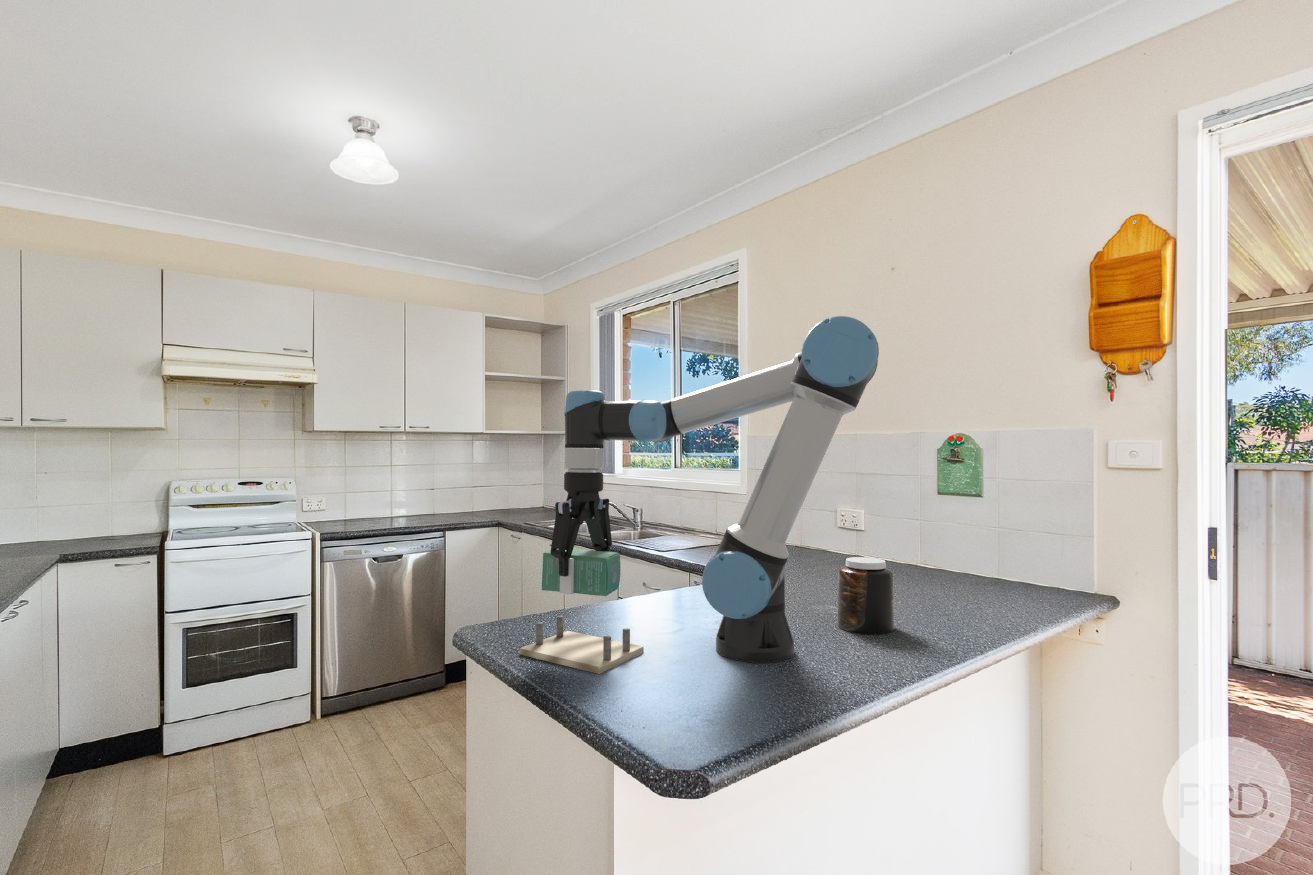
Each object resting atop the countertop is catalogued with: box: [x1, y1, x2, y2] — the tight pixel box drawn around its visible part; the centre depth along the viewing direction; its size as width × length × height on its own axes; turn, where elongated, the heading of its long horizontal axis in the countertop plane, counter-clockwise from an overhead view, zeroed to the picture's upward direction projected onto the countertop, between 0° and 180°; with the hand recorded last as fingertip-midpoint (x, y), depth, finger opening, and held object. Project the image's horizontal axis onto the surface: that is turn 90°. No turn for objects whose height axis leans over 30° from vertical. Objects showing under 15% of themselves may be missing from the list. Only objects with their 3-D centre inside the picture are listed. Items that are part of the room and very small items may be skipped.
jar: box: [837, 556, 895, 635], centre depth 141 cm, size 12×12×15 cm
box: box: [541, 548, 621, 597], centre depth 122 cm, size 7×14×8 cm, turn 74°
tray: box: [519, 615, 645, 675], centre depth 122 cm, size 19×14×5 cm
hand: (582, 588), depth 122 cm, fingers closed on box, 8 cm apart
